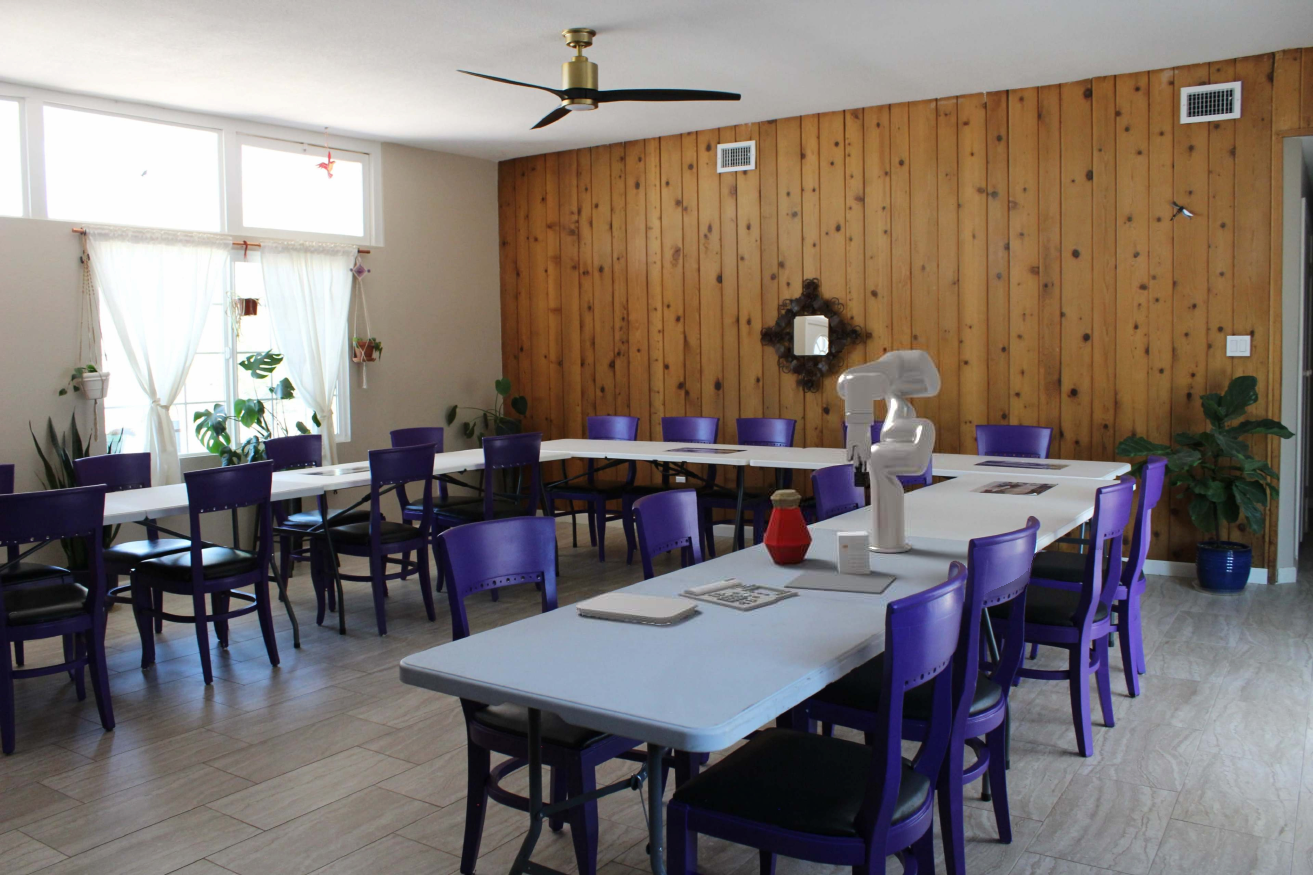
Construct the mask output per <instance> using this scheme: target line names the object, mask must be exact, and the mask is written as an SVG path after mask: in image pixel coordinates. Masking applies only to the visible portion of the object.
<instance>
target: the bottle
mask: <svg viewBox="0 0 1313 875" xmlns="http://www.w3.org/2000/svg"><path fill="white" fill-rule="evenodd" d="M801 499H802V496H801V495H800V494H799V493H798V492H797V491H796V490H795V489H781V490H780V489H779V490H776V491H775V492H774V493H773V494H772V495H771V496H770V500H771V503H772V505H773V508H772V513H771V514H770V519H769V522H768V525H767V529H766V531H765V535H764V539H763V541H762V542H763V544H764V546H765V548H766V549H767V552H768V554H769V556H770V558H771V559H772V561H773V563H774V564H776V565H777V564H778V565H787V566H788V565H796V564H800V563H802V562H803V561H804V560H805V558H806V555H807V553H808V550H809V548H810V546H811V544H812V542H813V537H812V536H811V533H810V530H809V528H808V526H807V524H806V521H805V519H804V517H803V514H802V511H801V509H800V507H799V505H800V502H801Z"/></svg>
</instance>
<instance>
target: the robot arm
mask: <svg viewBox="0 0 1313 875" xmlns="http://www.w3.org/2000/svg"><path fill="white" fill-rule="evenodd" d="M941 381H942V380H941V376H940V373H939V371H938V369H937V368H936V365H935V364H934V361H933V360H932V358H931V357H930V355H929V354H928V353H927V352H926V351H924V350H923V349H922V350H921V349H911V350H910V349H909V350H906V349H905V350H893V351H889V352H887V353H886V354H883V356H882V357H880V358H879V359H877V360H876V361H871V362H867V363H865V364H862V365H858V366H854V367H851V368H848V369H847V370H845V371H843V373H842V374H841V375H840V376H839V378H838V380H837V383H836V391H837V394H838V396H839V397H840V398H841V399H842V400H844V411H845V412H844V413H845V415H844V416H845V418H844V420H845V426H847V430H846V451H845V452H846V454H845V456H846V457H845V459H846V461H847V463H849V462H852V466H853V472H854V473H853V480H854V482H853V483H854V484H853V485H854V488H866V487H867V486H868V473H869V480H870V482H869V483H870V510H871V511H870V512H871V513H870V516H871V523H870V524H871V542H869V552H876V553H886V554H887V553H888V554H889V553H890V554H892V553H904V552H907V551H910V550H911V544H909V543H907V542H906V531H905V530H906V529H905V491H904V490H905V489H904V488H903V487H904V486H903V485H902V483H901V482H900V479H898V477H897V476H920V475H923V474H924V473H925V472H926V471H927V469H928V465H929V463H930V459H931V456H932V453H933V449H934V447H935V441H936V428H935V425H934V423H933V421H931V420H930V419H927V418H923V417H920V418H919V417H917V413H916V410H915V409H914V407H913V405H912V404H911V403H910V402H909V401H907V400H906V399H905V398H930V397H934V396H936V395H938V394H939V392H940V390H941V387H942V386H941V384H942V382H941ZM882 399H885V400H884V401H885V403H886V404H885V405H886V408H887V413H886V416H885V419H884V422H883V424H882V427H881V429H880V436H879V440H880V441H879V442H876V443H874V444H872V433H871V432H872V430H871V426H873V425H875V421H874V416H875V415H874V401H877V400H882Z"/></svg>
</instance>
